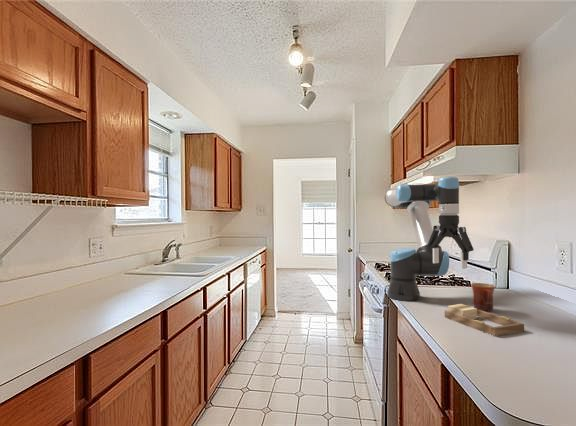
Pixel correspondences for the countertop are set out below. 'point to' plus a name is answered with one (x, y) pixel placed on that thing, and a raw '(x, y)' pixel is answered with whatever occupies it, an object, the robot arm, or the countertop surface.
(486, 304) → the mug
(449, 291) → the countertop surface
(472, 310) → the block
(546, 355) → the countertop surface
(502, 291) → the countertop surface
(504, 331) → the beam slot
